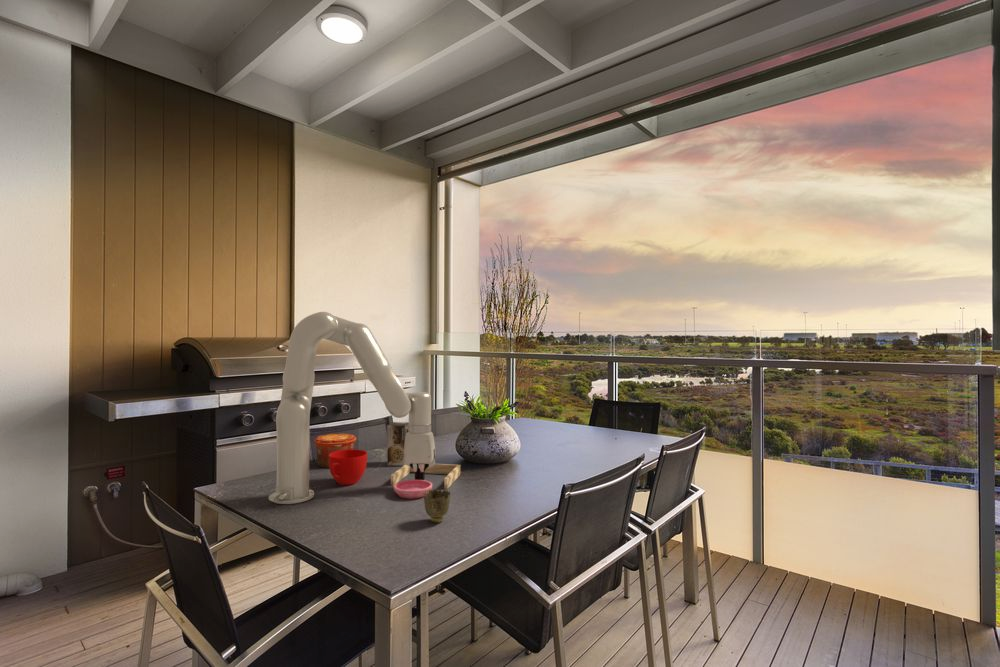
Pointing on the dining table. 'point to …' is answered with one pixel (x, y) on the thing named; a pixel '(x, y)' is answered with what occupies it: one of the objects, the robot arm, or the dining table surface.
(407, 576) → the dining table surface
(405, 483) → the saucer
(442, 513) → the cup
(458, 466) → the oak cubby
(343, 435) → the food container
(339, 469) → the ceramic cup
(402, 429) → the coffee box
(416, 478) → the robot arm
